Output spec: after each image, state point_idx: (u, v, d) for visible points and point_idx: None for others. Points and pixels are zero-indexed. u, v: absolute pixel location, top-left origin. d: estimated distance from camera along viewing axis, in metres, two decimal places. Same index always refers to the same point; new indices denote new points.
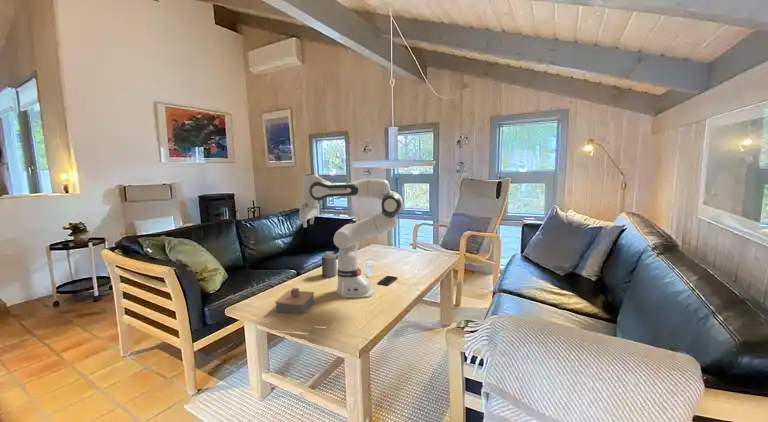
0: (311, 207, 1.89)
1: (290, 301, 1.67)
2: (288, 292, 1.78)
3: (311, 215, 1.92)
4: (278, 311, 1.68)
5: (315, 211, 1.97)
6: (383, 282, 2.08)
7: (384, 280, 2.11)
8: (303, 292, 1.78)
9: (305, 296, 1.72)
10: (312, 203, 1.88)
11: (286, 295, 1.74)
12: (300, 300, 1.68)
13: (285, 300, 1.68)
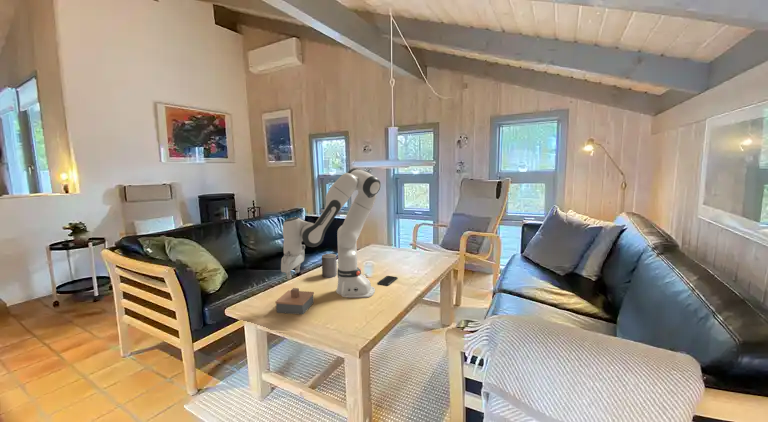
0: (295, 255, 1.67)
1: (290, 301, 1.67)
2: (288, 292, 1.78)
3: (296, 264, 1.69)
4: (278, 311, 1.68)
5: (300, 258, 1.75)
6: (383, 282, 2.08)
7: (384, 280, 2.11)
8: (303, 292, 1.78)
9: (305, 296, 1.72)
10: (295, 251, 1.65)
11: (286, 295, 1.74)
12: (300, 300, 1.68)
13: (285, 300, 1.68)
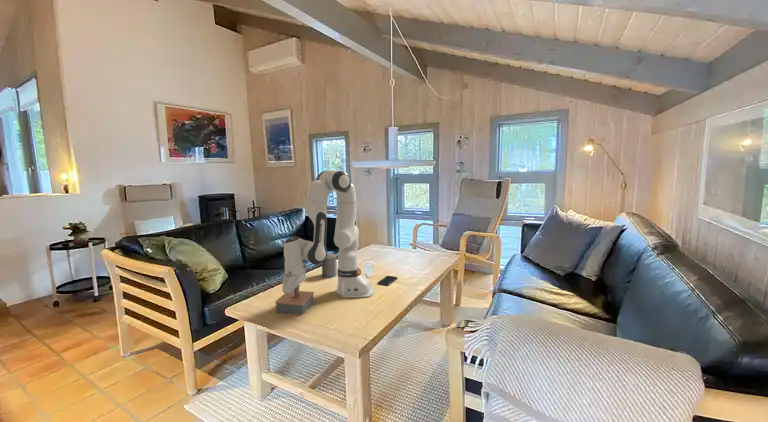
0: (296, 275, 1.68)
1: (290, 301, 1.67)
2: None
3: (297, 283, 1.71)
4: (278, 311, 1.68)
5: (302, 276, 1.77)
6: (383, 282, 2.08)
7: (384, 280, 2.11)
8: (303, 292, 1.78)
9: (305, 296, 1.72)
10: (296, 271, 1.67)
11: (286, 295, 1.74)
12: (300, 300, 1.68)
13: (285, 300, 1.68)
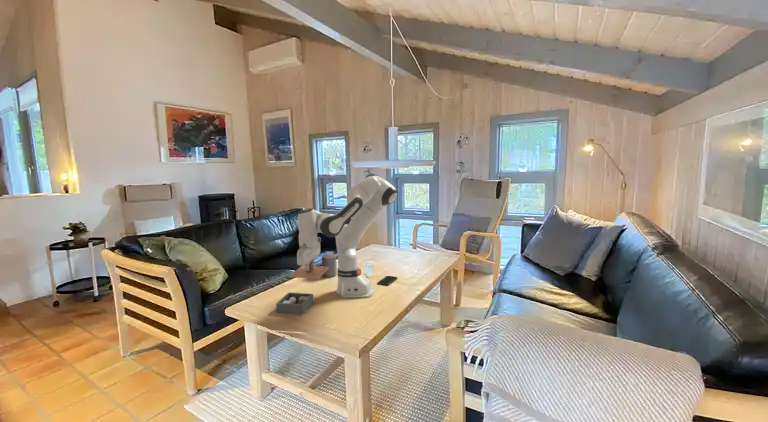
0: (311, 248, 1.62)
1: (305, 275, 1.60)
2: (302, 267, 1.72)
3: (312, 257, 1.64)
4: (278, 311, 1.68)
5: (316, 251, 1.70)
6: (383, 282, 2.08)
7: (384, 280, 2.11)
8: (318, 267, 1.72)
9: (320, 271, 1.66)
10: (311, 243, 1.60)
11: (300, 270, 1.68)
12: (315, 274, 1.61)
13: (299, 274, 1.62)
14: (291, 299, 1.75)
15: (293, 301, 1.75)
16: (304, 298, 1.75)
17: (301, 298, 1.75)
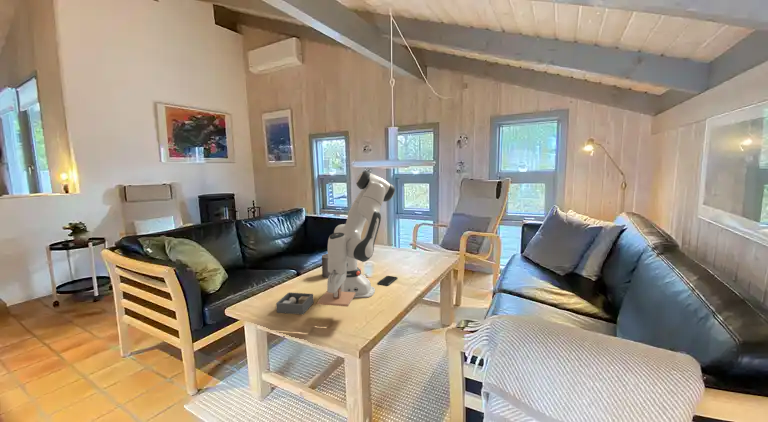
0: (340, 274, 1.57)
1: (333, 302, 1.55)
2: None
3: (340, 283, 1.59)
4: (278, 311, 1.68)
5: (344, 276, 1.65)
6: (383, 282, 2.08)
7: (384, 280, 2.11)
8: (344, 292, 1.66)
9: (348, 297, 1.60)
10: (341, 269, 1.55)
11: (327, 295, 1.62)
12: (344, 301, 1.56)
13: (328, 301, 1.56)
14: (291, 299, 1.75)
15: (293, 301, 1.75)
16: (304, 298, 1.75)
17: (301, 298, 1.75)
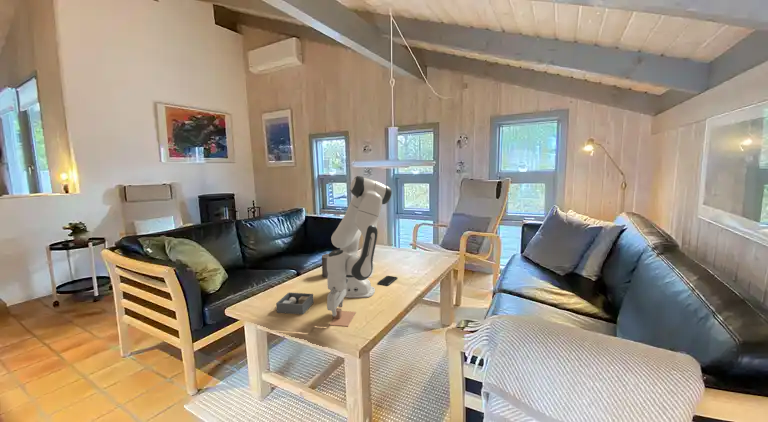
0: (340, 291, 1.58)
1: (334, 323, 1.57)
2: None
3: (340, 299, 1.61)
4: (278, 311, 1.68)
5: (344, 291, 1.66)
6: (383, 282, 2.08)
7: (384, 280, 2.11)
8: (345, 312, 1.68)
9: (348, 317, 1.62)
10: (341, 286, 1.57)
11: None
12: (344, 322, 1.58)
13: None
14: (291, 299, 1.75)
15: (293, 301, 1.75)
16: (304, 298, 1.75)
17: (301, 298, 1.75)
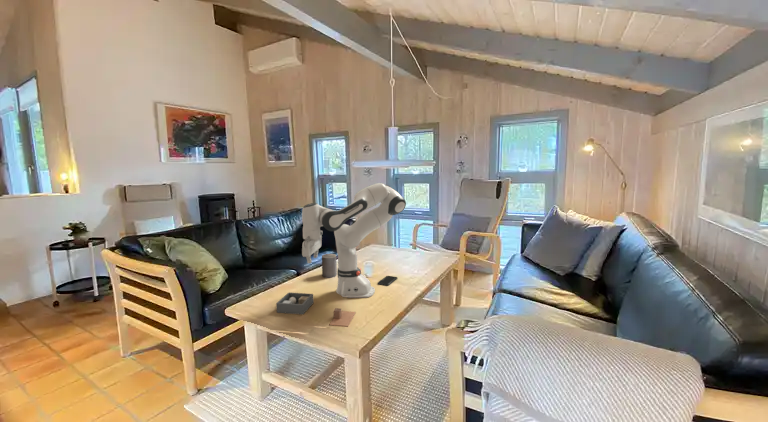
0: (314, 240, 1.71)
1: (334, 323, 1.57)
2: None
3: (315, 249, 1.74)
4: (278, 311, 1.68)
5: (318, 243, 1.80)
6: (383, 282, 2.08)
7: (384, 280, 2.11)
8: (345, 312, 1.68)
9: (348, 317, 1.62)
10: (315, 236, 1.70)
11: None
12: (344, 322, 1.58)
13: None
14: (291, 299, 1.75)
15: (293, 301, 1.75)
16: (304, 298, 1.75)
17: (301, 298, 1.75)
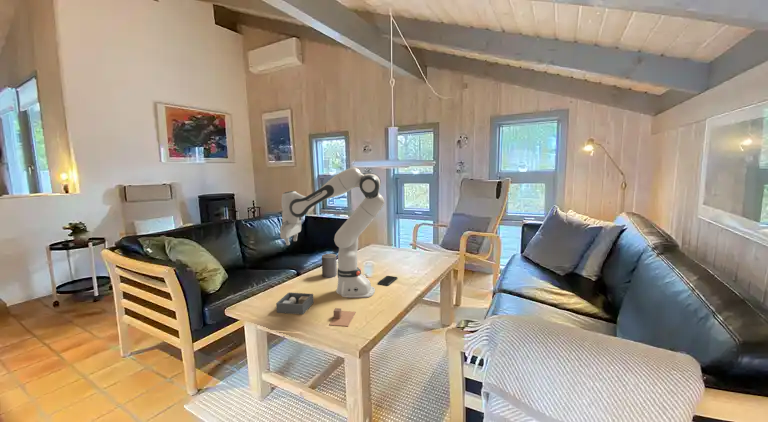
0: (292, 224, 1.88)
1: (334, 323, 1.57)
2: None
3: (293, 232, 1.91)
4: (278, 311, 1.68)
5: (298, 228, 1.97)
6: (383, 282, 2.08)
7: (384, 280, 2.11)
8: (345, 312, 1.68)
9: (348, 317, 1.62)
10: (293, 220, 1.87)
11: None
12: (344, 322, 1.58)
13: None
14: (291, 299, 1.75)
15: (293, 301, 1.75)
16: (304, 298, 1.75)
17: (301, 298, 1.75)
